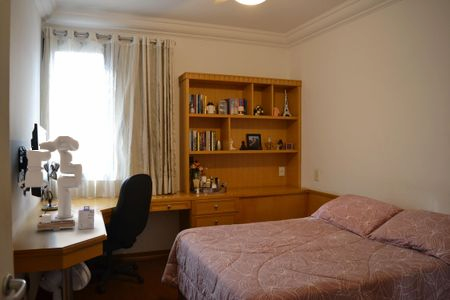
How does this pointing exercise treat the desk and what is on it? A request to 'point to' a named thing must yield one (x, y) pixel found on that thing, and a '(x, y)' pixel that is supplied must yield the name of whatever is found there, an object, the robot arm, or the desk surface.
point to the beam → (56, 224)
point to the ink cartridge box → (86, 218)
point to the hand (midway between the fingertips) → (33, 196)
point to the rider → (46, 218)
